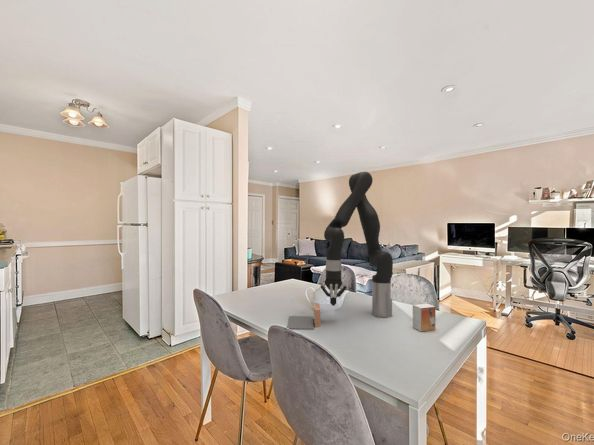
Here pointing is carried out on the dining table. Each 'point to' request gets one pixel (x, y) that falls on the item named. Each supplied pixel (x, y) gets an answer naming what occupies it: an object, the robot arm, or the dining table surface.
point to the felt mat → (300, 322)
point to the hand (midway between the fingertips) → (333, 305)
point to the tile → (317, 314)
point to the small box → (424, 317)
